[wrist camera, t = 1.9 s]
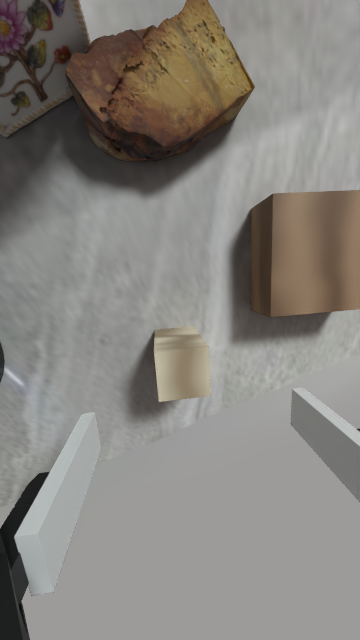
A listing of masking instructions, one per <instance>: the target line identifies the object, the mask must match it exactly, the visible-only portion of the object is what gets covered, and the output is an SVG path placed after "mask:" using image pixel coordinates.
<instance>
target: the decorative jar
mask: <svg viewBox="0 0 360 640" xmlns="http://www.w3.org/2000/svg"><path fill="white" fill-rule="evenodd" d="M90 44H91V42H90V38H89V34H88V31H87V26H86V23H85V20H84V15H83V11H82V9H81V5H80V1H79V0H0V134H1V135H2V136H4V137H6V138H7V137H9V135H11V134H12V133H14V132H15V131H17V130H18V129H19V128H22V127H23V126H25V125H27V124H28V123H30V122H31V121H33V120H35V119H36V118H38V117H39V116H41V115H43V114H44V113H46V112H47V111H49V110H50V109H52V108H53V107H55V106H57V105H58V104H60V103H62V102H64V101H66V100H67V99H68V98H70V97H71V96H73V94H72V92H71V89H70V87H69V85H68V82H67V80H66V76H65V73H66V66H67V64H68V62H69V60H70V59H71V57H72V55H73V53H81V54H85V52H86V50H85V49H86V48H88V47H89V46H90Z"/></svg>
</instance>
